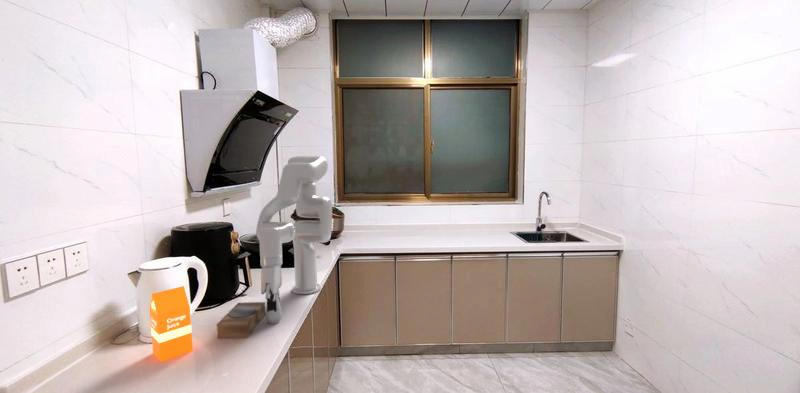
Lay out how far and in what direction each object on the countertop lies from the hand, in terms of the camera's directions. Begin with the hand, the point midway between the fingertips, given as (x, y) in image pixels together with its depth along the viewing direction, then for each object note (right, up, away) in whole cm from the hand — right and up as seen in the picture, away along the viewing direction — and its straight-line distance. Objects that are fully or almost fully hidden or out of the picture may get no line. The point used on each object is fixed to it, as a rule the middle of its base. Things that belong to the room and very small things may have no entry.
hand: (273, 309), depth 134 cm
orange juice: (-24, -7, -20) cm, 32 cm away
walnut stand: (-10, -5, -3) cm, 11 cm away
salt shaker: (0, -5, +1) cm, 5 cm away
